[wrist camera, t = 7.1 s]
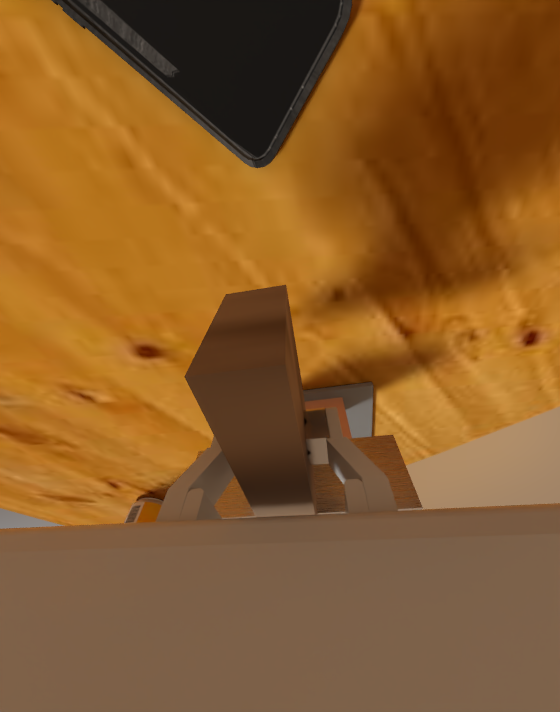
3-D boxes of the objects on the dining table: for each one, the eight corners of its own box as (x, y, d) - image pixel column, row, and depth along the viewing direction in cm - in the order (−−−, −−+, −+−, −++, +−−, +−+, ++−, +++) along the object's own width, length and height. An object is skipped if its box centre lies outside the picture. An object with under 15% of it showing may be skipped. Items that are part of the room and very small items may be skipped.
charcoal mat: (234, 398, 27) (233, 402, 26) (371, 381, 25) (373, 385, 24) (264, 468, 35) (264, 472, 34) (369, 459, 33) (370, 463, 33)
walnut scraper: (115, 311, 11) (8, 397, 7) (416, 264, 9) (519, 336, 5) (205, 461, 17) (179, 552, 13) (391, 447, 16) (427, 543, 12)
